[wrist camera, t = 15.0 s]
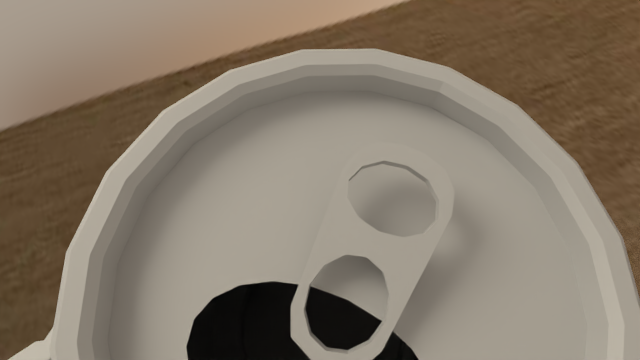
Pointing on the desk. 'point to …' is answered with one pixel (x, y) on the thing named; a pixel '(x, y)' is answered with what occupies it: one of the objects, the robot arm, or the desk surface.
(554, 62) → the desk surface
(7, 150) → the desk surface
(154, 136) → the can
